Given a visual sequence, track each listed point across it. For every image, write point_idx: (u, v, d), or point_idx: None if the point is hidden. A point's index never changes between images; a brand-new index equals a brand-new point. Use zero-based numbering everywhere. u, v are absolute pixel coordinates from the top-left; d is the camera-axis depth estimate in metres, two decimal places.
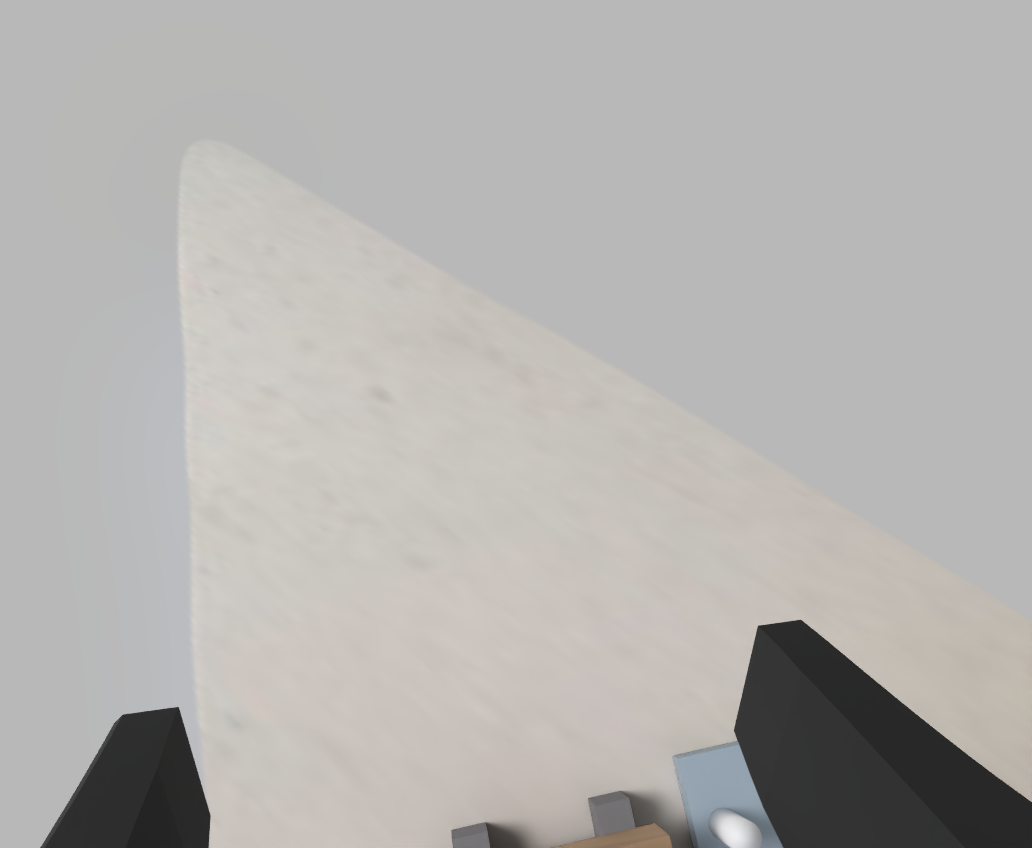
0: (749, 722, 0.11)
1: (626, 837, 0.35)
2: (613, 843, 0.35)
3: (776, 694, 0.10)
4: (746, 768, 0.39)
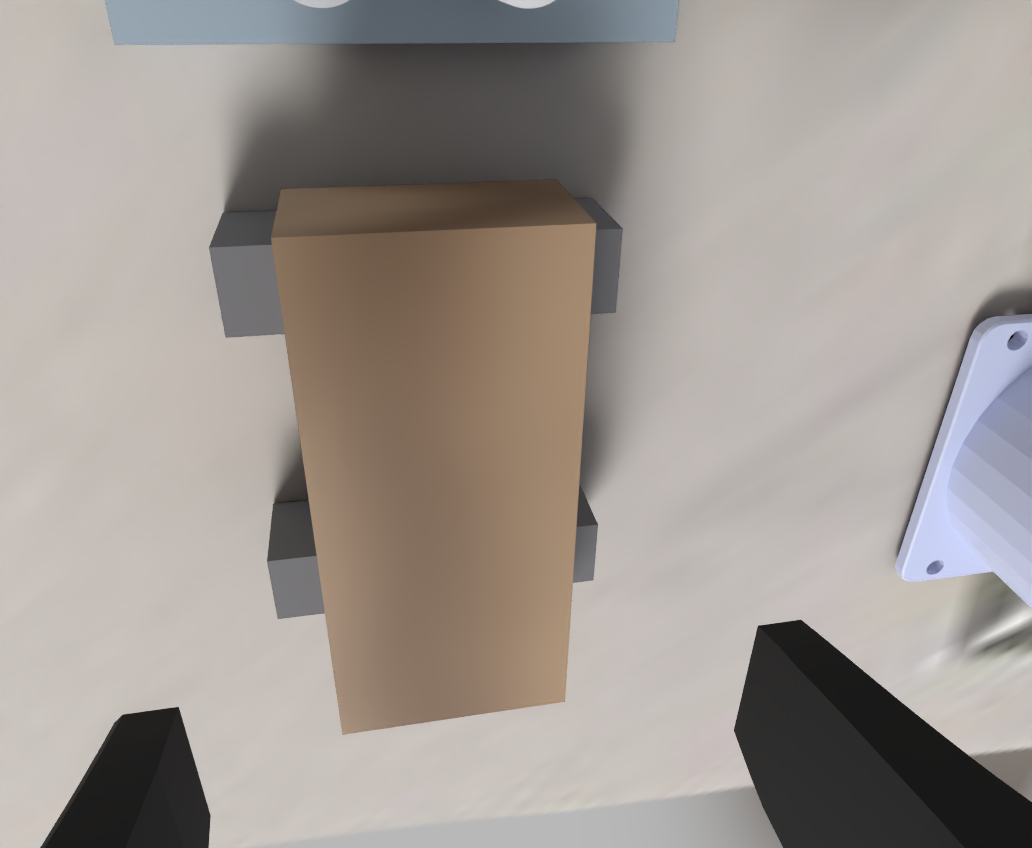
0: (749, 722, 0.11)
1: None
2: None
3: (776, 694, 0.10)
4: None
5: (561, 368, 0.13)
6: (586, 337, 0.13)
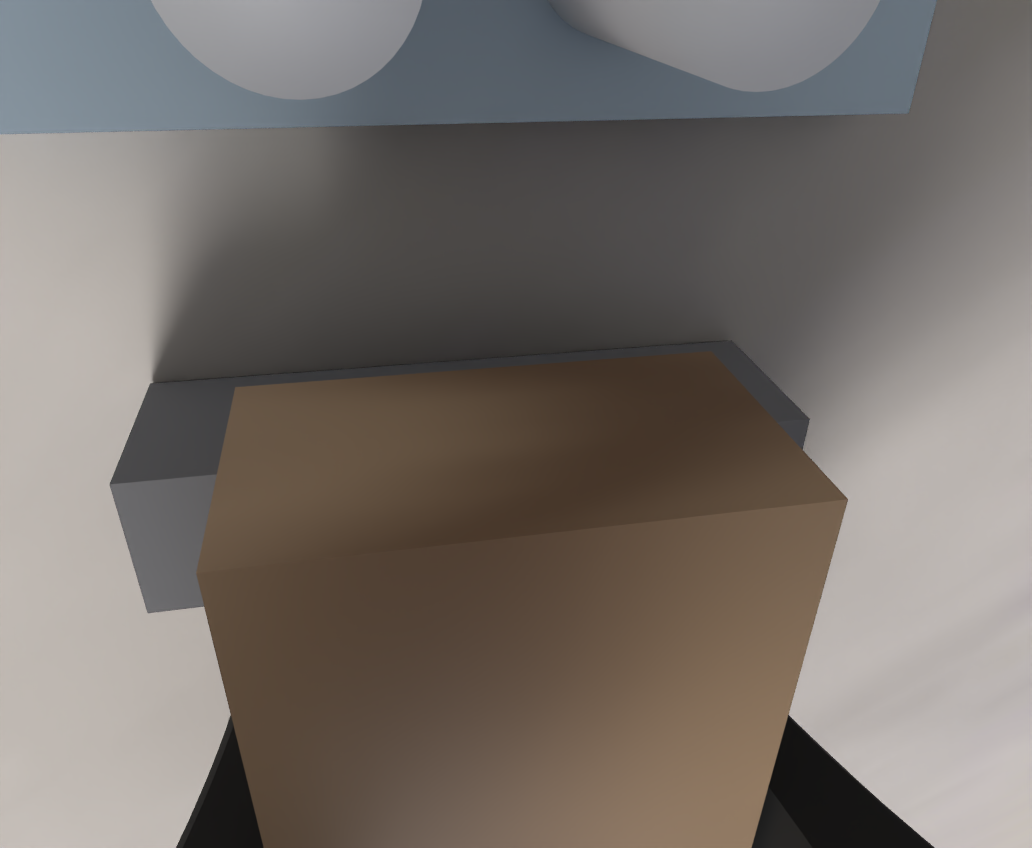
0: None
1: None
2: None
3: None
4: None
5: (743, 719, 0.07)
6: (790, 664, 0.07)
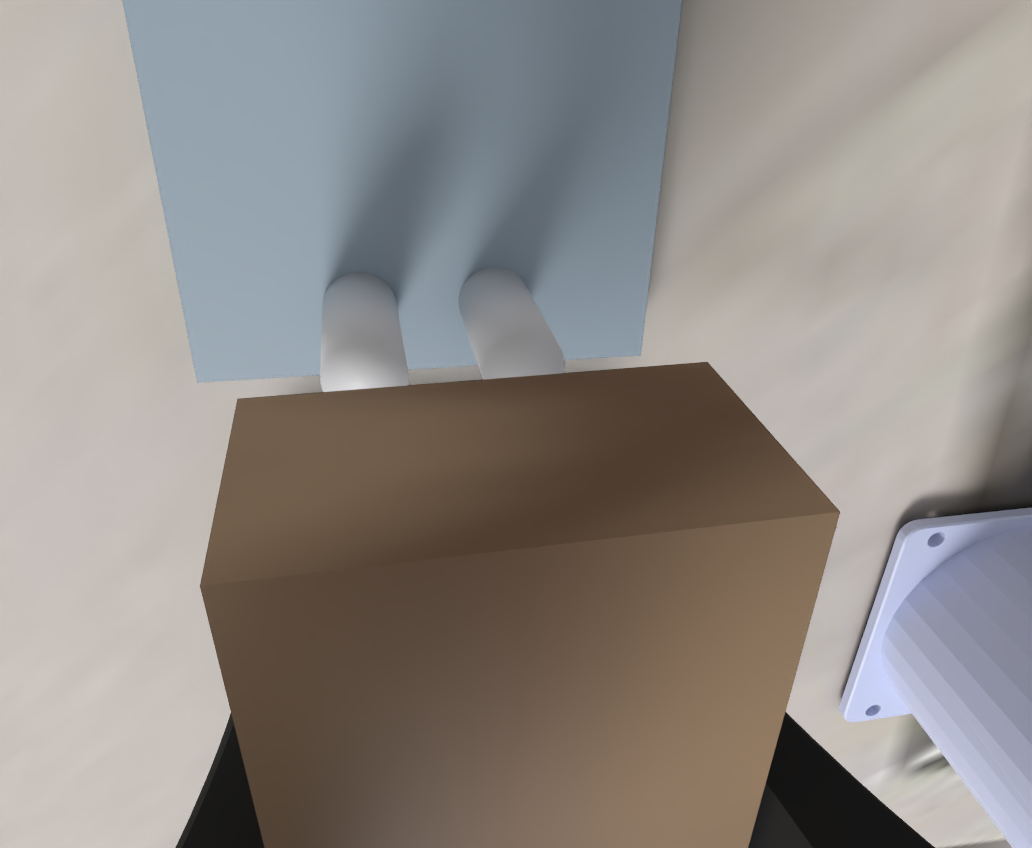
0: None
1: None
2: None
3: None
4: (231, 221, 0.14)
5: (738, 725, 0.07)
6: (785, 673, 0.07)
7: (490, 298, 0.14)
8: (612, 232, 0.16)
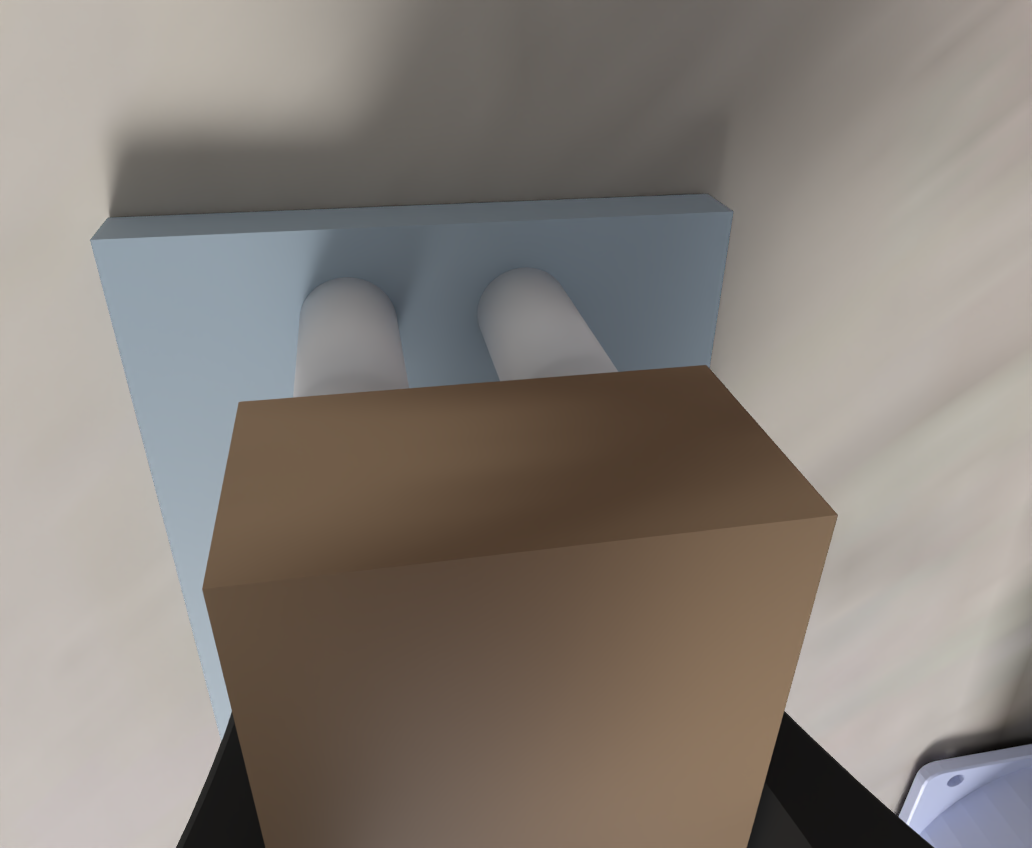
0: None
1: None
2: None
3: None
4: None
5: (737, 727, 0.07)
6: (784, 675, 0.07)
7: None
8: None
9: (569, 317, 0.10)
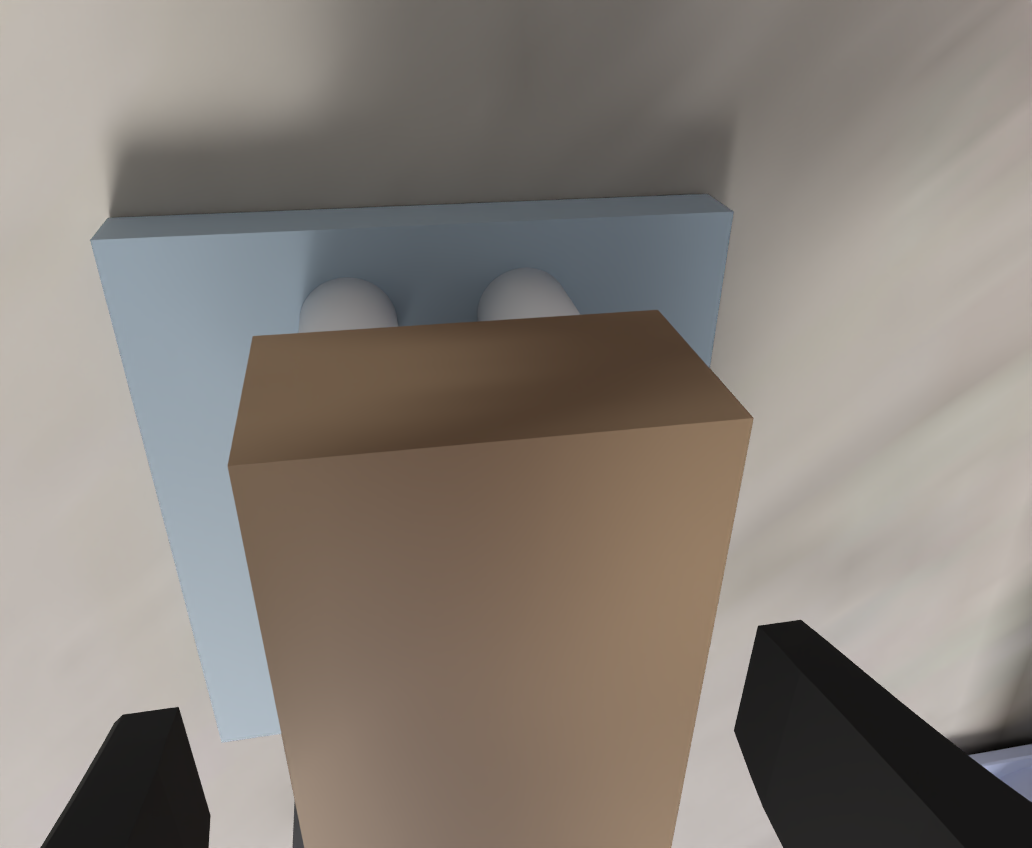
0: (749, 722, 0.11)
1: None
2: None
3: (776, 694, 0.10)
4: (255, 617, 0.14)
5: (678, 612, 0.08)
6: (718, 566, 0.08)
7: None
8: None
9: None
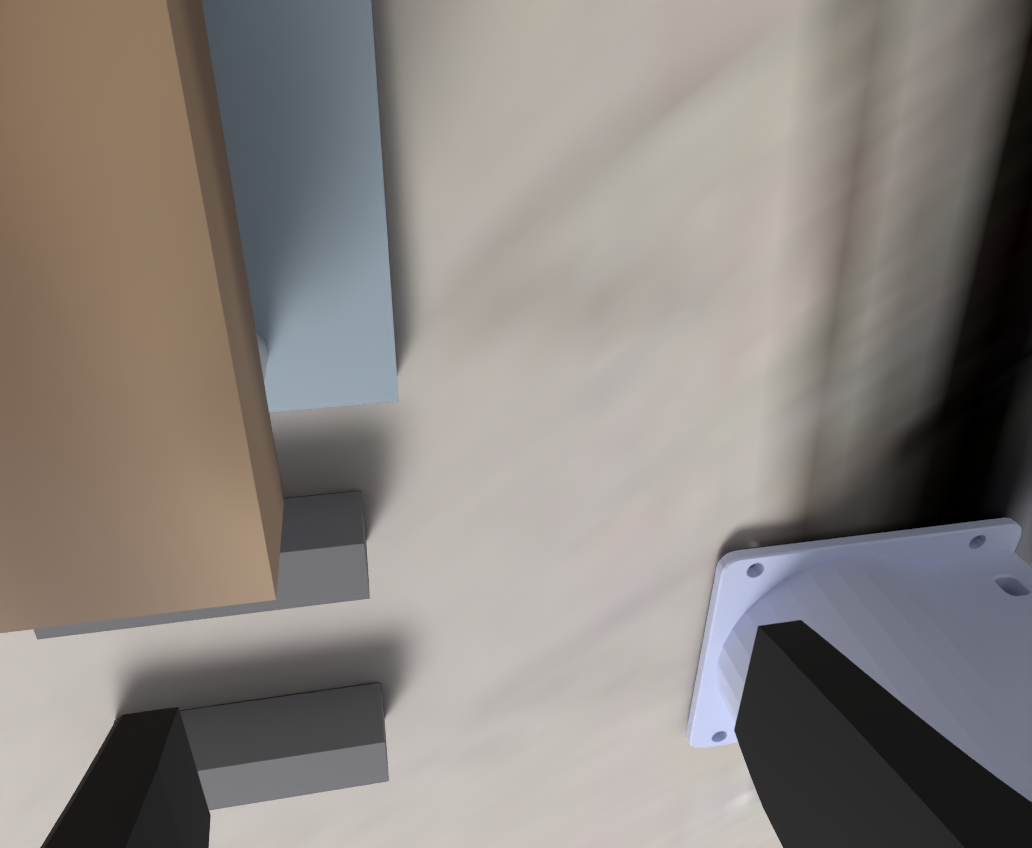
0: (749, 722, 0.11)
1: None
2: None
3: (776, 694, 0.10)
4: None
5: (129, 37, 0.08)
6: None
7: None
8: (344, 283, 0.16)
9: None
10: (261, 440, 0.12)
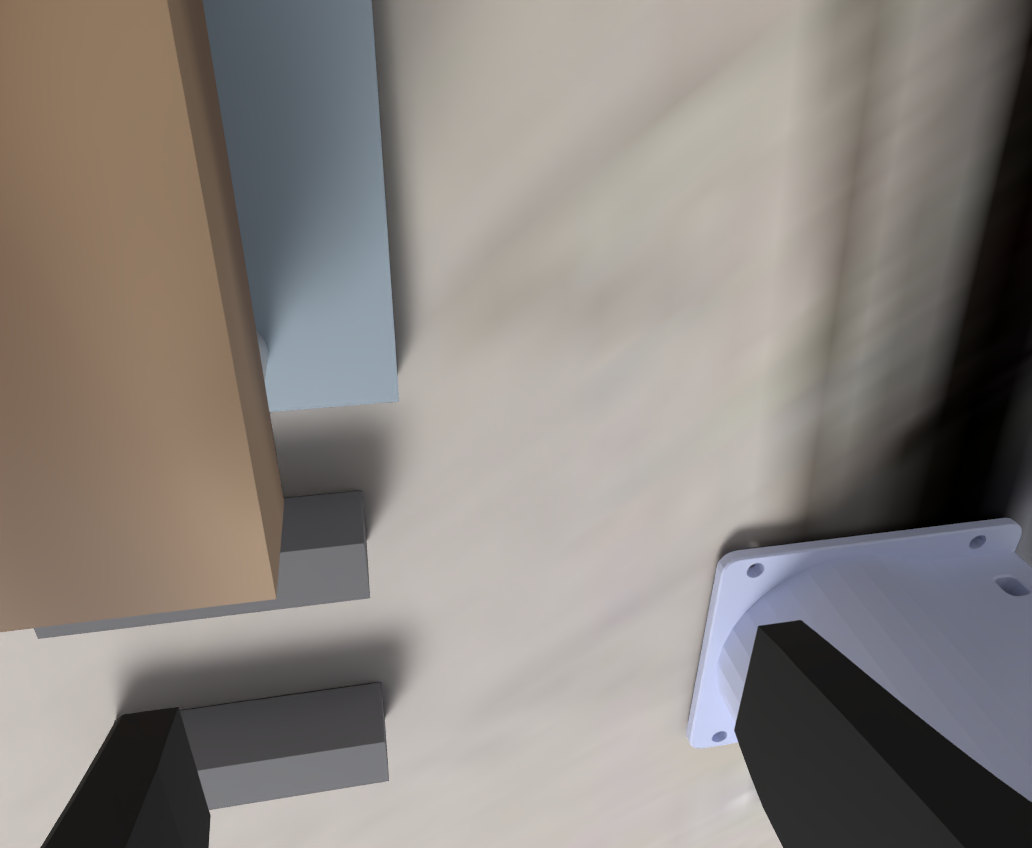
0: (749, 722, 0.11)
1: None
2: None
3: (776, 694, 0.10)
4: None
5: (130, 37, 0.08)
6: None
7: None
8: (345, 284, 0.16)
9: None
10: (261, 439, 0.12)
